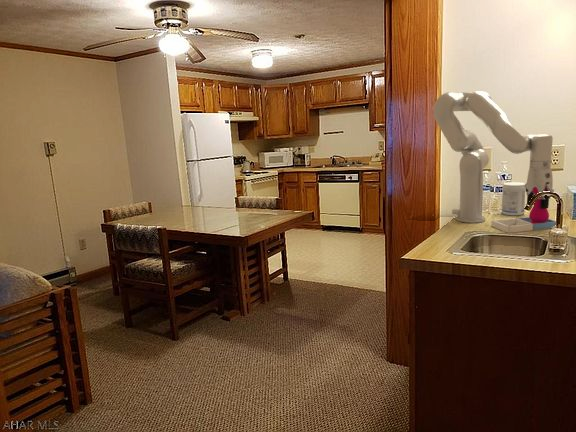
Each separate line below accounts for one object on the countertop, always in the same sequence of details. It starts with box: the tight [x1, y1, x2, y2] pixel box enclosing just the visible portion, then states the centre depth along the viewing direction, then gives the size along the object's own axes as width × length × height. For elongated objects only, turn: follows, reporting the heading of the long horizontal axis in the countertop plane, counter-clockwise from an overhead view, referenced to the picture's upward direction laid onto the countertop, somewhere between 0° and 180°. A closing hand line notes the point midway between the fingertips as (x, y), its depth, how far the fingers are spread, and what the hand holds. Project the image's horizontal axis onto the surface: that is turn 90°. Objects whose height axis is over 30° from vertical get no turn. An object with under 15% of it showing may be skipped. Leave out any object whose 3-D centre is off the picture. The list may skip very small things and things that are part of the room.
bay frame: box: [490, 216, 557, 234], centre depth 179 cm, size 22×12×2 cm, turn 96°
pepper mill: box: [528, 187, 550, 224], centre depth 177 cm, size 7×7×20 cm
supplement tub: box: [501, 181, 526, 217], centre depth 201 cm, size 10×10×15 cm
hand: (537, 206), depth 178 cm, fingers open, 7 cm apart
